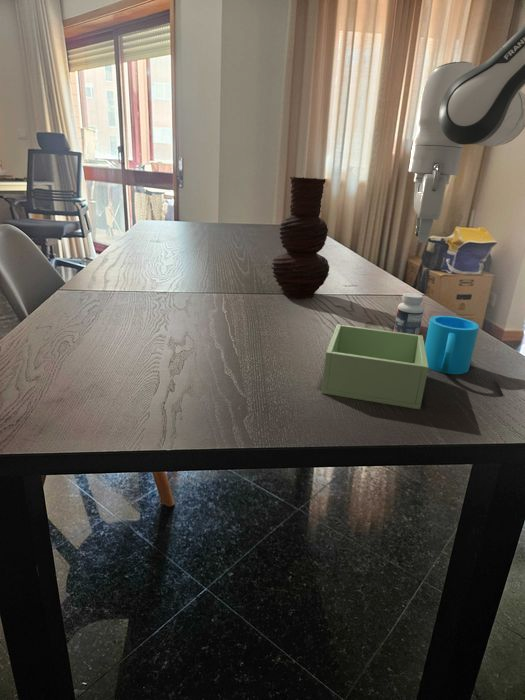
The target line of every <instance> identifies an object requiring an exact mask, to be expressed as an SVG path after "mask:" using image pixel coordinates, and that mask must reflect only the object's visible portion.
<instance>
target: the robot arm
mask: <svg viewBox="0 0 525 700" xmlns="http://www.w3.org/2000/svg"><path fill="white" fill-rule="evenodd" d="M524 87H525V24H524V25H522V26H521V27H520V28H519V29H518V30H517V31H516V32H515V33H514V34H513V35H512V36H511V37H510V38H509V39H508V40H507V41H506V42H505V43H504V44H503V45H502V46H501V47H500V48H499V49H498V50H497V51H496V52H495V53H494V54H493V55H492V56H490V57H489V58H488V59H487V60H486V61H483V63H481V64H479V65H478V66H476V65H475V64H473V63H472V62H470V61H453V62H447V63H444V64H441V65H438V66H437V67H435V68H434V69H433V70H432V71H430V72H429V74H428V76H427V78H426V80H425V82H424V86H423V89H422V93H421V97H420V101H419V105H418V109H417V110H418V111H417V117H416V126H417V127H416V128H417V129H416V135H415V138H414V140H413V142H412V147H411V152H410V153H411V154H410V159H409V160H410V161H409V165H408V166H409V167H408V173H412V174H414V178H413V183H414V192H413V210H414V212H415V214H416V221H415V222H416V223H415V232H414V235H415V237H417V242H418V243H419V244H427V243H428V242H429V238H430V237H429V236H430V233H431V230H432V227H433V222H434V221H435V220H437V221H438V220H439V219H440V217H441V214H442V209H443V203H444V198H445V193H446V192H445V191H446V185H449V184H450V183H449V182H450V178H451V176H458V174H459V169H460V164H461V160H462V159H461V158H462V154H463V149H464V146H465V145H476V146H482V147H483V146H484V147H499V146H502V145H506V144H508V143H510V142H512V141H513V140H515V139H516V138H517V137H518V136H519V135H520V134H521V133H523V130H524V129H525V93H524V92H523V91H522V89H523V88H524Z"/></svg>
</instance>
